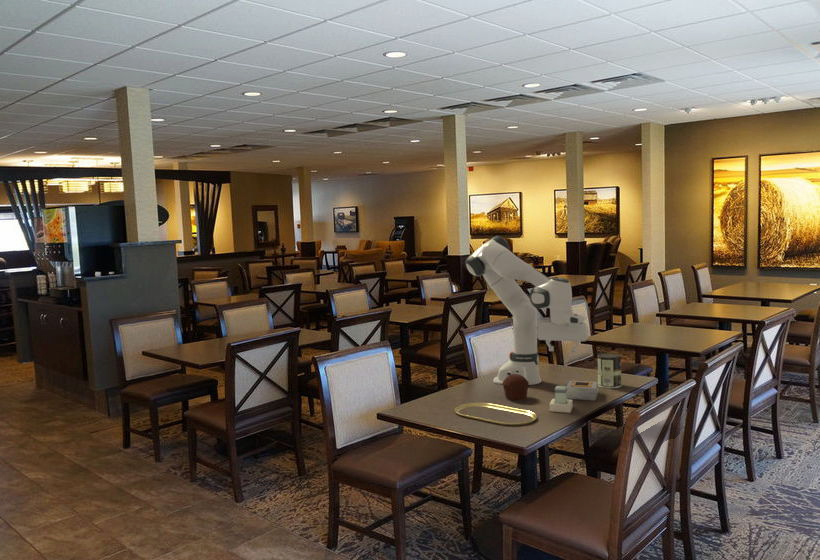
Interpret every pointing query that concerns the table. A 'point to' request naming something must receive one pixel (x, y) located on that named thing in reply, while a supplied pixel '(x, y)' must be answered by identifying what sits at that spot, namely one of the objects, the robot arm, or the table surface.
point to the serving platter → (496, 408)
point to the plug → (561, 394)
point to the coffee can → (609, 370)
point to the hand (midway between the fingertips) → (562, 351)
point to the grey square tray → (561, 406)
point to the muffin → (515, 387)
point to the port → (582, 390)
